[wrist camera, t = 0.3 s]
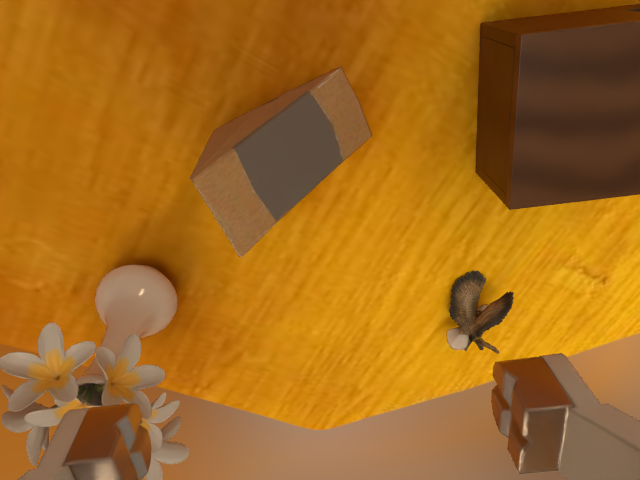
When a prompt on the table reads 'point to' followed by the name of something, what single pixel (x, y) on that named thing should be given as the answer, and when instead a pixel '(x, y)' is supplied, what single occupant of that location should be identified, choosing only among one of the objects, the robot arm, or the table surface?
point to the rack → (560, 107)
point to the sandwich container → (278, 156)
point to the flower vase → (101, 366)
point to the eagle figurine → (474, 312)
